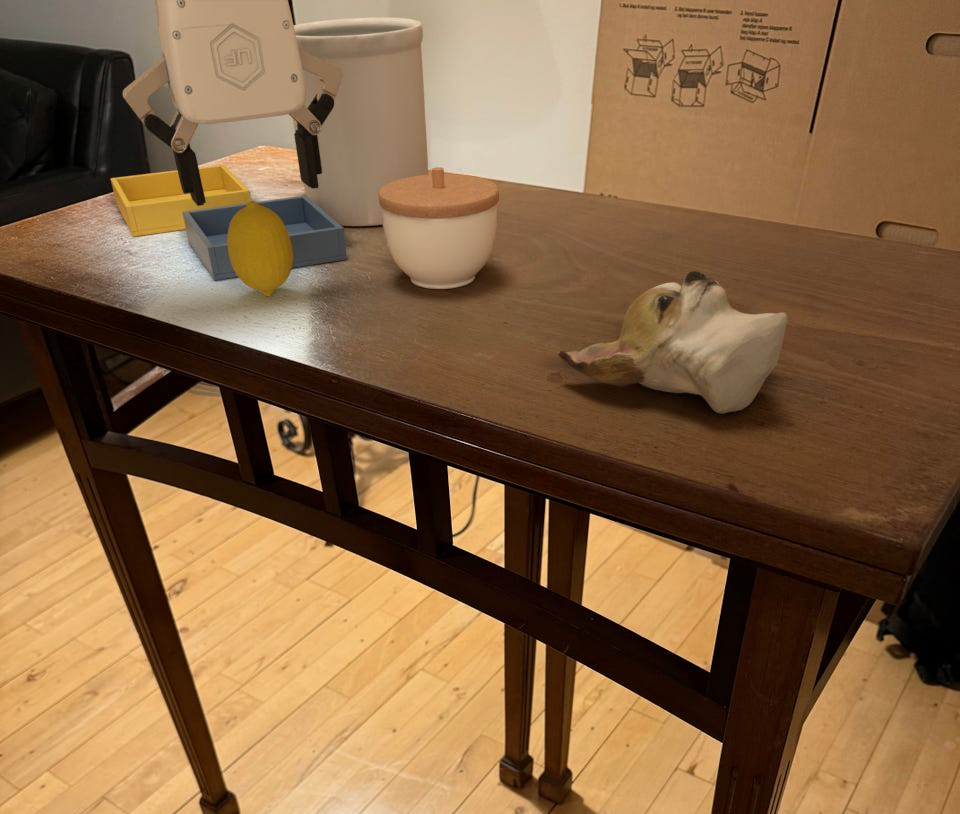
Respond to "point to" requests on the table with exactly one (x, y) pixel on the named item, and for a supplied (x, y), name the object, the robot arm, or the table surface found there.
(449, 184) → the trinket box
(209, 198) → the yellow tray
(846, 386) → the table surface
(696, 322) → the ceramic sculpture
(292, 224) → the blue tray
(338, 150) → the utensil holder
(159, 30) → the robot arm
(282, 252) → the lemon
